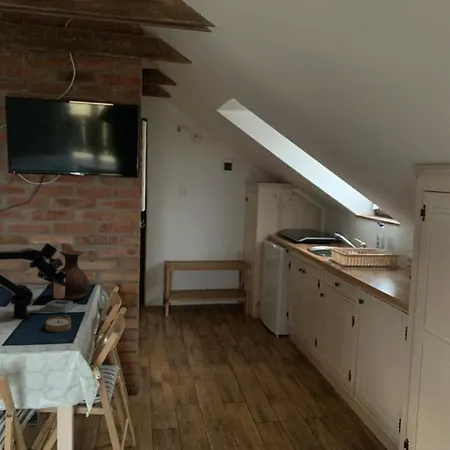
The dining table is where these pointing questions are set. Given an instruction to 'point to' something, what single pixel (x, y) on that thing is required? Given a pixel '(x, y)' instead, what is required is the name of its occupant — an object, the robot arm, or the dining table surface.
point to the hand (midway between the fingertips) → (61, 284)
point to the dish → (59, 306)
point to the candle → (59, 290)
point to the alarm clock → (58, 323)
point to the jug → (73, 275)
